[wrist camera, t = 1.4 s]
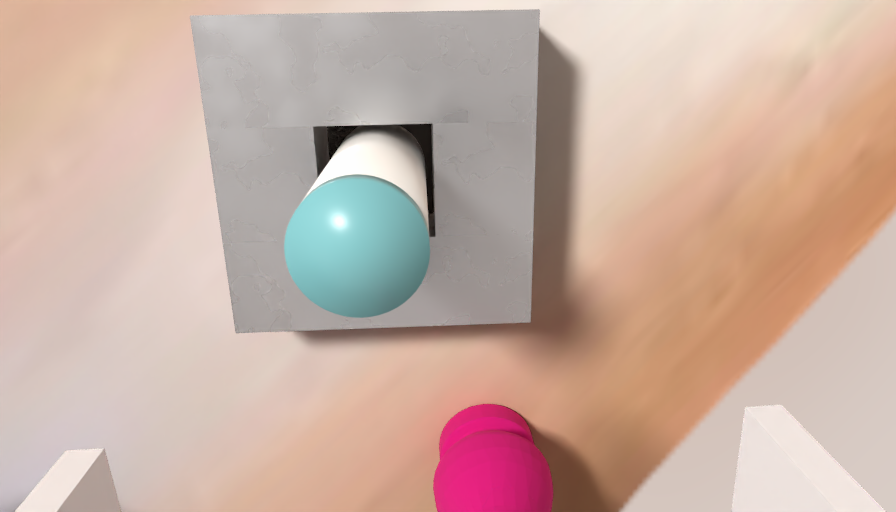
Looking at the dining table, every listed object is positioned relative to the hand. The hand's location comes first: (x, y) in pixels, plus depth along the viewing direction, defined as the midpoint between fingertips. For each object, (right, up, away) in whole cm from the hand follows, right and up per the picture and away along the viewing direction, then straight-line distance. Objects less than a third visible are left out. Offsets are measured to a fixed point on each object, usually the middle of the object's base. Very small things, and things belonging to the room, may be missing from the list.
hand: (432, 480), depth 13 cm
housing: (-3, +10, +23) cm, 25 cm away
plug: (-3, +10, +23) cm, 25 cm away
